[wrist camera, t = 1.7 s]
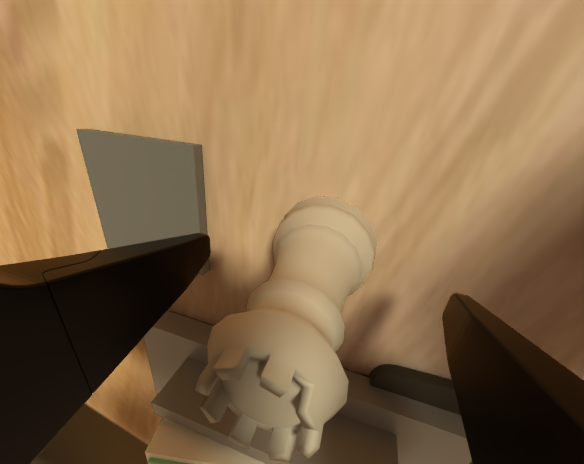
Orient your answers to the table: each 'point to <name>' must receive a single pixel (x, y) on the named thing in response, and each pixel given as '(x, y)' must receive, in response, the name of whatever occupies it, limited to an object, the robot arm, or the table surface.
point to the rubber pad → (145, 187)
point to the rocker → (190, 448)
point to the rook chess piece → (291, 332)
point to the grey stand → (336, 431)
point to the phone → (416, 386)
